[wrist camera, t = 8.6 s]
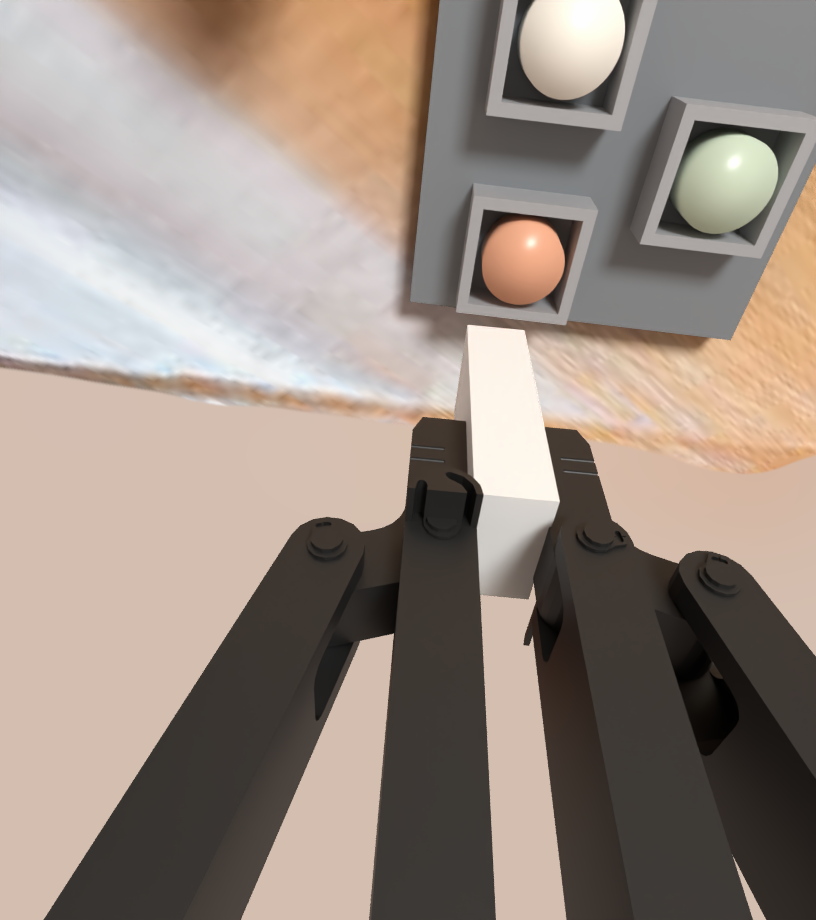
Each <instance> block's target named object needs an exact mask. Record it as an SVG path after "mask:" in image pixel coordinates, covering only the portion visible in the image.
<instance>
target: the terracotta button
mask: <svg viewBox="0 0 816 920" xmlns="http://www.w3.org/2000/svg"><path fill="white" fill-rule="evenodd" d="M481 259H482V273H483V278H484V281H485V284H486V286H487V287H488V289H489V290H490V292H491V293H492V294H493V295H494V296H496V297H497V298H498V299H500V300H502V301H504V302H506V303H510V304H515V305H524V304H530V303H533V302H536V301H538V300H541V299H542V298H544V297H545V296H547V295H548V294H549V293H550V292H551V291H552V290H553V289H554V288H555V287H556V286H557V284H558V283H559V281H560V279H561V277H562V274H563V271H564V266H565V256H564V251H563V248H562V245H561V243H560V240H559V237H558V235H557V232H556V230H555V228H554V226H553V225H552V224H551V222H550V221H549V220H548V219H546V218H545V217H543V216H536V215H527V214H519V213H509V214H507V215H505V216H503V217H501V218H500V219H498V220H497V221H496V222H495V223H494V224H493V225H492V226H491V227H490V229H489V230H488V231H487V233H486V235H485V237H484V240H483V243H482V249H481Z"/></svg>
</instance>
